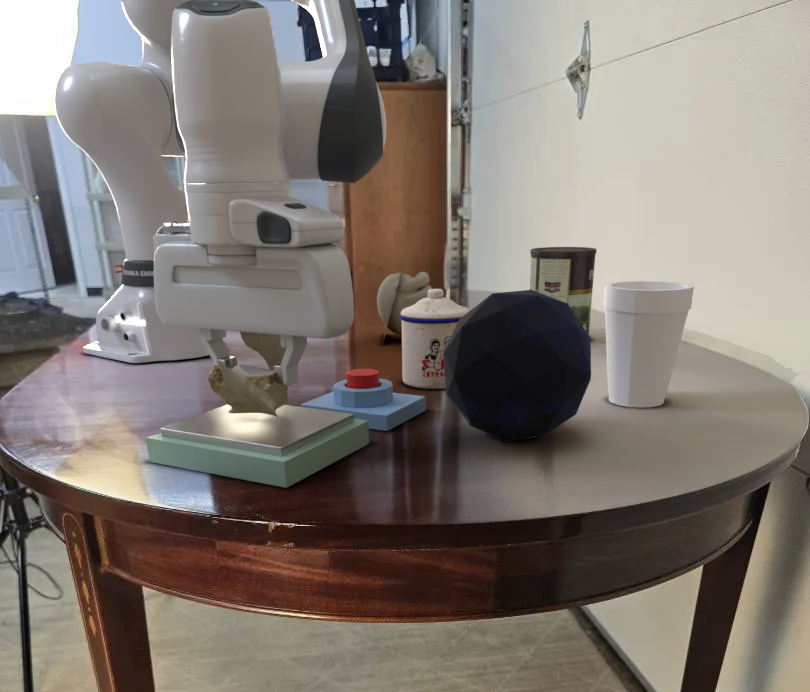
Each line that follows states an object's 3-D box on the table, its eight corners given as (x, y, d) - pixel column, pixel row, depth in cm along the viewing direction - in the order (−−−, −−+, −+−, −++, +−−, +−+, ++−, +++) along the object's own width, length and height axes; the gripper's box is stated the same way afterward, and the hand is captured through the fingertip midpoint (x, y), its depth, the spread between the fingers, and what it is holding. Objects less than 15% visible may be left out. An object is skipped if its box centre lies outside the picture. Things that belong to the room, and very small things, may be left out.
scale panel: (301, 419, 86) (299, 388, 85) (344, 400, 93) (343, 371, 92) (387, 431, 81) (386, 398, 80) (425, 410, 88) (425, 380, 87)
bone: (229, 413, 67) (205, 305, 68) (211, 435, 73) (189, 334, 74) (319, 405, 72) (295, 303, 72) (295, 426, 77) (273, 331, 78)
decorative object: (425, 345, 136) (426, 357, 126) (368, 329, 135) (365, 340, 125) (446, 272, 130) (449, 278, 121) (387, 254, 129) (385, 260, 120)
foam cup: (679, 394, 94) (694, 281, 88) (677, 413, 86) (693, 291, 80) (599, 389, 96) (609, 280, 91) (590, 407, 89) (600, 289, 83)
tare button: (341, 389, 85) (340, 373, 85) (357, 382, 88) (357, 367, 87) (369, 392, 84) (368, 376, 83) (385, 385, 87) (384, 370, 86)
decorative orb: (490, 357, 89) (456, 253, 77) (620, 370, 82) (604, 257, 70) (444, 457, 83) (399, 362, 71) (578, 479, 76) (553, 378, 64)
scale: (149, 462, 73) (144, 429, 72) (243, 424, 84) (240, 395, 83) (286, 488, 66) (283, 452, 65) (369, 443, 77) (368, 412, 76)
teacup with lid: (423, 393, 96) (422, 296, 91) (388, 379, 103) (386, 288, 98) (502, 381, 101) (505, 288, 96) (463, 369, 108) (465, 282, 103)
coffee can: (582, 333, 133) (589, 245, 127) (594, 344, 123) (603, 250, 118) (522, 334, 133) (526, 246, 127) (530, 345, 124) (535, 251, 118)
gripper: (126, 222, 69) (150, 376, 74) (317, 223, 60) (328, 398, 66) (176, 219, 74) (195, 364, 80) (359, 219, 65) (366, 383, 71)
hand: (256, 380), depth 72 cm, fingers closed on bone, 6 cm apart
